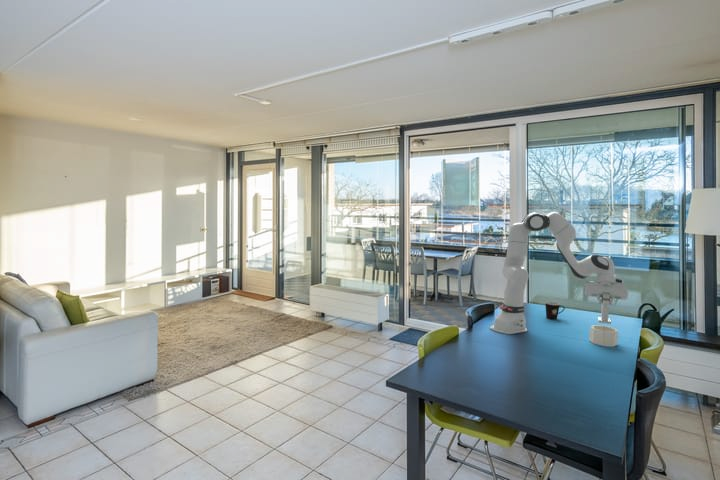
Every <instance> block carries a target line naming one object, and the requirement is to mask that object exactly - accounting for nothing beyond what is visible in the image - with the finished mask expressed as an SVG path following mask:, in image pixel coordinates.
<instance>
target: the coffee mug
mask: <svg viewBox="0 0 720 480" xmlns="http://www.w3.org/2000/svg"><path fill="white" fill-rule="evenodd" d="M544 304H545V305H544V306H545V317H546V319H547V320H553V321H555V320H557V319H558V316H559V314H561V313H562V312H564V311H565V309H566V308H565V306H564V305H561V304H560V303H559V302H553V301H545V303H544ZM561 307H562V308H563V309H562V310H561V311H560V312H559V310H560V308H561Z"/></svg>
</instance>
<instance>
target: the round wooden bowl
mask: <svg viewBox="0 0 720 480" xmlns="http://www.w3.org/2000/svg"><path fill="white" fill-rule="evenodd" d="M618 337H619V330H618V329H617V328H616V327H612V326H608V325H605V324H604V325H602V324H593V325H591V326H590V329H589V342H591V343H592V344H595V345H598V346H601V347H616V346H617V345H618V339H619V338H618Z"/></svg>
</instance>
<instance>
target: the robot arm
mask: <svg viewBox="0 0 720 480" xmlns="http://www.w3.org/2000/svg"><path fill="white" fill-rule="evenodd" d="M509 228H510V229H509V233H508V237H507V238H508V239H507V247H506V250H507V251H506V254H505V260H504V264H503V267H502V271H501V272H502V275H503V277H504V278H505V279H506V286H505V289H504V293H503V295H504V297H503V304H502V305H499V308H498V309H500V310H501V311H500V312H499V313H498V315H497V316H496V317H495V318H494V321H493V322H494V323H493V325H491V326H489V330H492V331H494V332H498V333H501V334H506V335H513V334H519V333H520V334H521V333H525V332H528V329H527V328H526V325H527V324H526V316H525V314H524V312H525V305H524V301H525V300H524V299H525V291H526V287H527V282H528V280H529V278H530V275H529V272H528V270H527V268H525V267H524V264H525V263H524V261H525V259H526V257H527V255H528V254H527V253H528V245H529V236H530V233H532V232H540V231H543V230H544V229H547V230H548V231H549V232H550V233H551V234H552V236H554V238H555V240H556V249H558V252H560V254H561V255H560V256H562V257H563V259H564V262H566V264H567V265H568V266H569V268H570V271H571V272H572V275H573V276H574V277H575V278H577V279H581V280H584V279H586V278H588V277H589V276H590V277H591V276H592V275H593V274H595V275H596V281H591V280H587V281H584V283H583V284H584V285H583V286H584V295H585V296H586V297H594V298H596V299H597V300H598V303H599V304H601V305H602V303H603V300H602V299H601V298H602V296H603V295H602V294H603V292H607V293H610V301H609V306H610V305H612V306H613V302H615V300H622V301H626V300H628V298H629V291H628V287H627V286H626V283H625V280H623V279H620V278H617V277H615V273H616V271H615V270H616V268H615V264H614V260H613V259H612V258H611V257H609V256H602V255H599V254H596V253H594V254H591V255H589V256H586V257H585V258H583V259H581V260H578V259H577V258H576V257H575V255H574V253H573V252H572V251H571V244H572V243H573V241H574V240H575V238H576V235H577V234H576V233H577V231H576V229H575V227H574V226H573V225H572V224H571V222H570V221H569V220H567V219H566V218H565V216H563V215H562V214H560V212H557V211H552V212H549V213H548V214H543V213H540V212H537V211H535V212H534V211H533V212H530V213H528V214H527V215H526V216H525V217H524V218H523V219H522V221H521V222H516V223H513V224H511V226H510V227H509Z"/></svg>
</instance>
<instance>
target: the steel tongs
mask: <svg viewBox="0 0 720 480" xmlns="http://www.w3.org/2000/svg"><path fill="white" fill-rule="evenodd" d="M602 295H603V296H602V297H600V299H602V300H603V303H602V304H601V311H600V313H601V315H600V317H599V316H598V317H597V322H598V324H607V325H612V321H611V318H609V313H610V311H609V310H610V304H609V301H610V300H611V298H610V293H607V292H603V294H602Z"/></svg>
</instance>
